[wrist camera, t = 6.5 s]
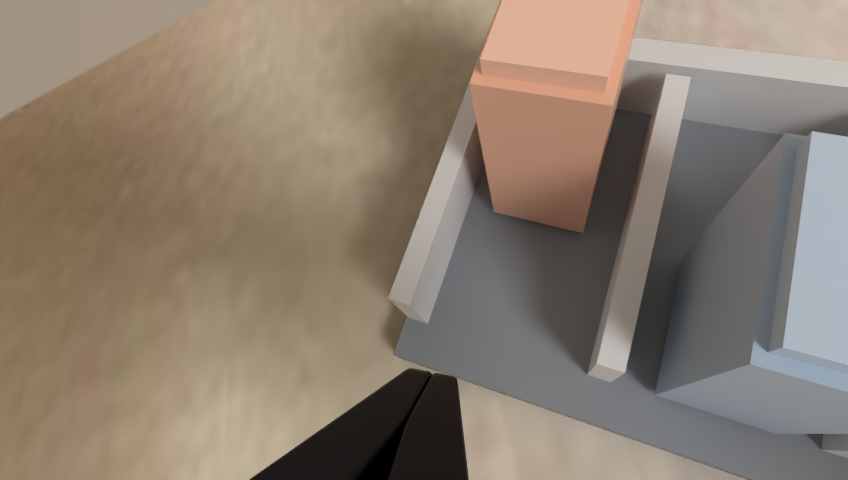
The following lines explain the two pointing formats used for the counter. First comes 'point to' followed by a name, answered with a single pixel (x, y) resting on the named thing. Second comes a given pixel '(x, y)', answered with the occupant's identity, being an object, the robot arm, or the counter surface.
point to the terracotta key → (550, 103)
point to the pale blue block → (769, 298)
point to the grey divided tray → (615, 255)
